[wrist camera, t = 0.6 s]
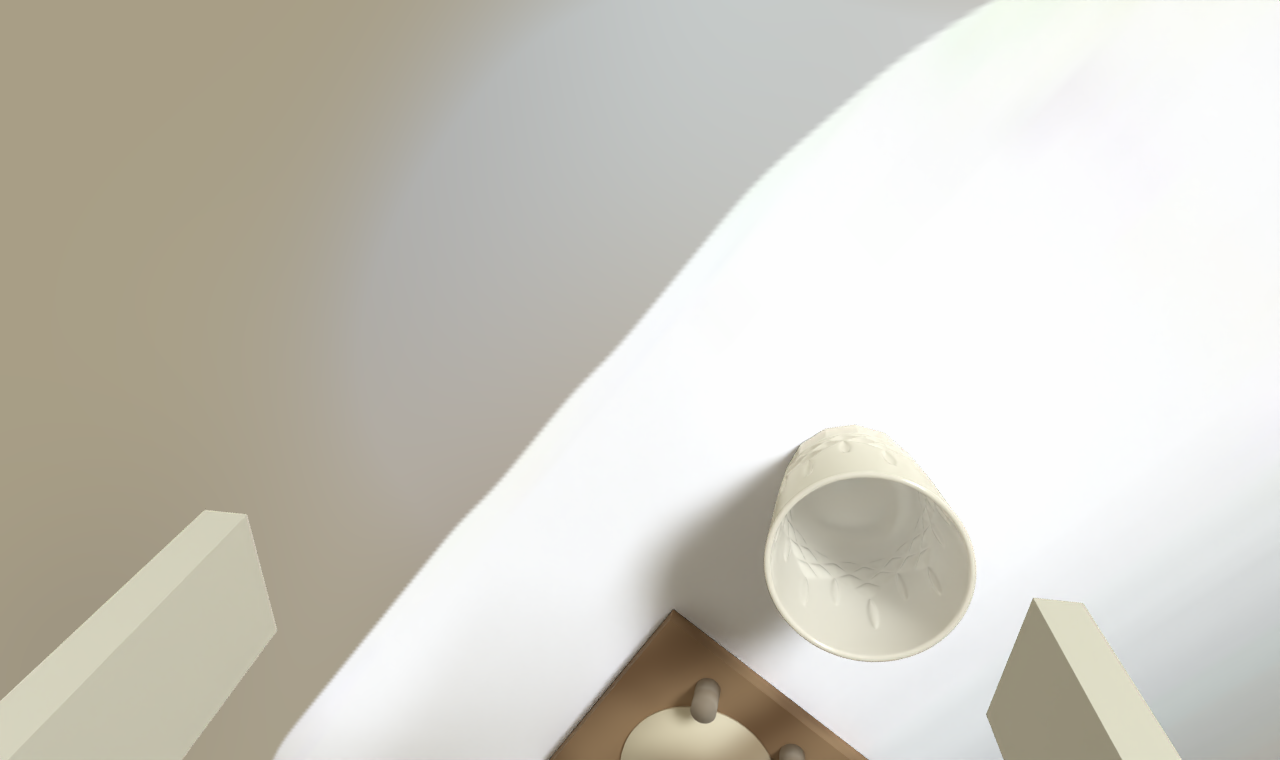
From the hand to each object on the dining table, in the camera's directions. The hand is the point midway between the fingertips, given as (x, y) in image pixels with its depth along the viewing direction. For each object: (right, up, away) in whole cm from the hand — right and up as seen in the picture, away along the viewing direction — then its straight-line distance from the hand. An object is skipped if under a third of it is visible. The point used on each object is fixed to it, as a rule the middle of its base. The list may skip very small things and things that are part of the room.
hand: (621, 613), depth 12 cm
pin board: (+4, -19, +30) cm, 35 cm away
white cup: (+11, -2, +25) cm, 27 cm away
